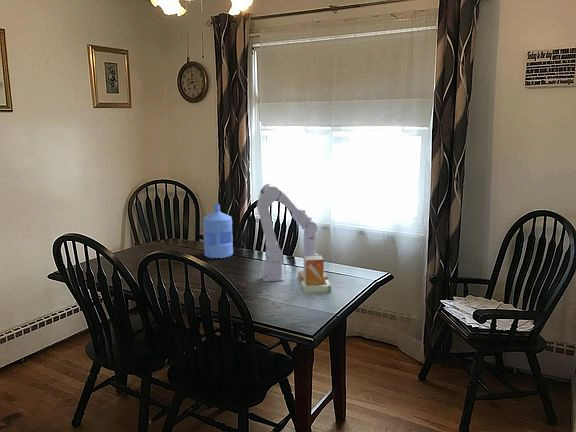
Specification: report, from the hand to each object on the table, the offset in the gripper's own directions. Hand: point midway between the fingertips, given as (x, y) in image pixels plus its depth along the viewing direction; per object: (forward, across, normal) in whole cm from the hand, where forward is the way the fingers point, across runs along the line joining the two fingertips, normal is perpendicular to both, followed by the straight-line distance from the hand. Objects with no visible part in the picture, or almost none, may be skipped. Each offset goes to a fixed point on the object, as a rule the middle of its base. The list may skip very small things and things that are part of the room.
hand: (309, 273), depth 233 cm
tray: (+1, -19, 0) cm, 19 cm away
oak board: (+1, -6, 0) cm, 6 cm away
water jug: (+1, +40, +44) cm, 60 cm away
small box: (+1, -14, 0) cm, 14 cm away
